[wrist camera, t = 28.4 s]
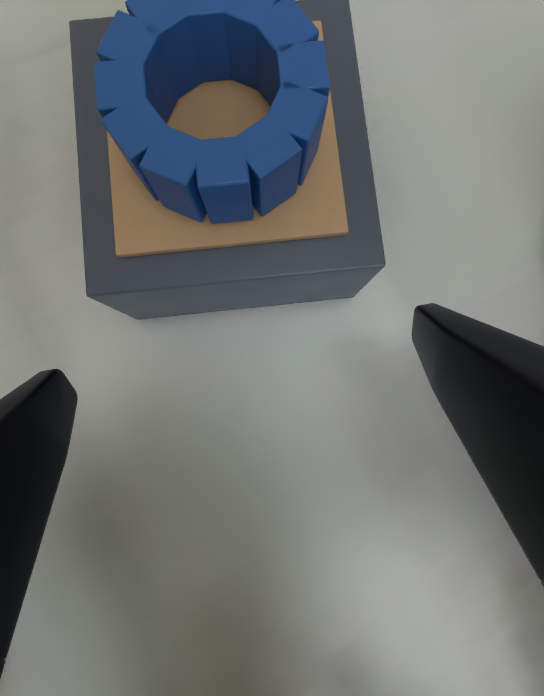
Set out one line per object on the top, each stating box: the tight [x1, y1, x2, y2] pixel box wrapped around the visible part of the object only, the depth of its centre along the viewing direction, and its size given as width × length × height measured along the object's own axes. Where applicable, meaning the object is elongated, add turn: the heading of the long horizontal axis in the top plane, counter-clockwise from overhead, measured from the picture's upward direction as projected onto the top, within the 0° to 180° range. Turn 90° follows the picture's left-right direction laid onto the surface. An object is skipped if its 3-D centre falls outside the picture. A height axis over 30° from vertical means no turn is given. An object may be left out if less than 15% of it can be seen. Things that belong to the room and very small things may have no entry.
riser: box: [69, 0, 385, 319], centre depth 16 cm, size 11×11×5 cm
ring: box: [94, 0, 331, 224], centre depth 12 cm, size 7×7×2 cm
